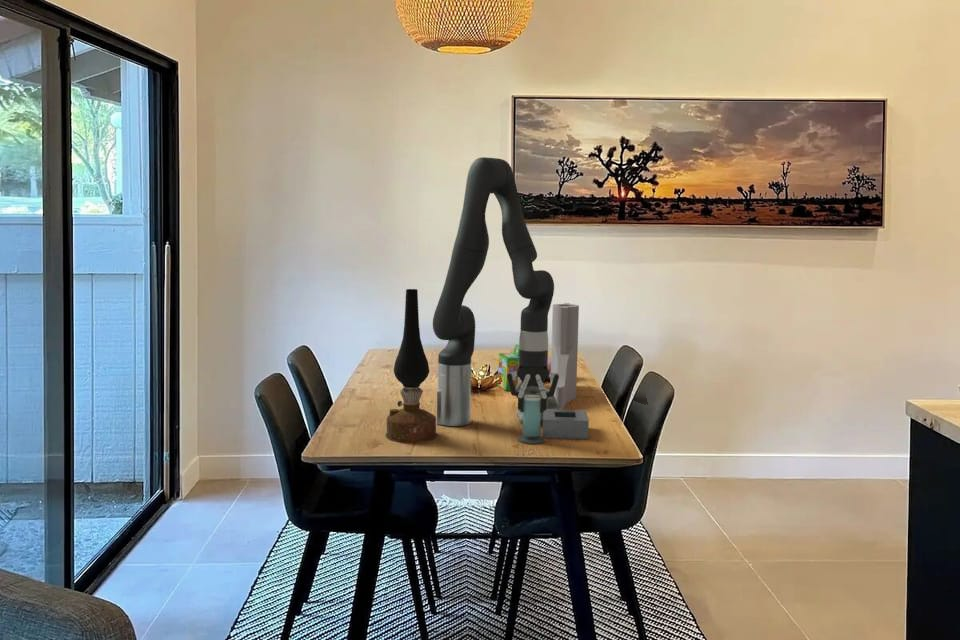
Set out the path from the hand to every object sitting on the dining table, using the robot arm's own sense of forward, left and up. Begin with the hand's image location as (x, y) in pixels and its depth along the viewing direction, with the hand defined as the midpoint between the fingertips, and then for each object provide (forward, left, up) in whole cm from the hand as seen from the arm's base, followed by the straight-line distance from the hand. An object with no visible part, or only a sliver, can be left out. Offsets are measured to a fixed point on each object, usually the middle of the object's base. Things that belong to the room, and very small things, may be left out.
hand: (532, 411), depth 222 cm
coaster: (0, 0, -8) cm, 8 cm away
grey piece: (+10, +52, -8) cm, 54 cm away
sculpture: (+2, +24, -8) cm, 25 cm away
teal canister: (0, 0, -6) cm, 6 cm away
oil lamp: (-32, +1, -8) cm, 33 cm away
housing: (+9, +9, -8) cm, 15 cm away
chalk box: (-6, +64, -8) cm, 65 cm away
